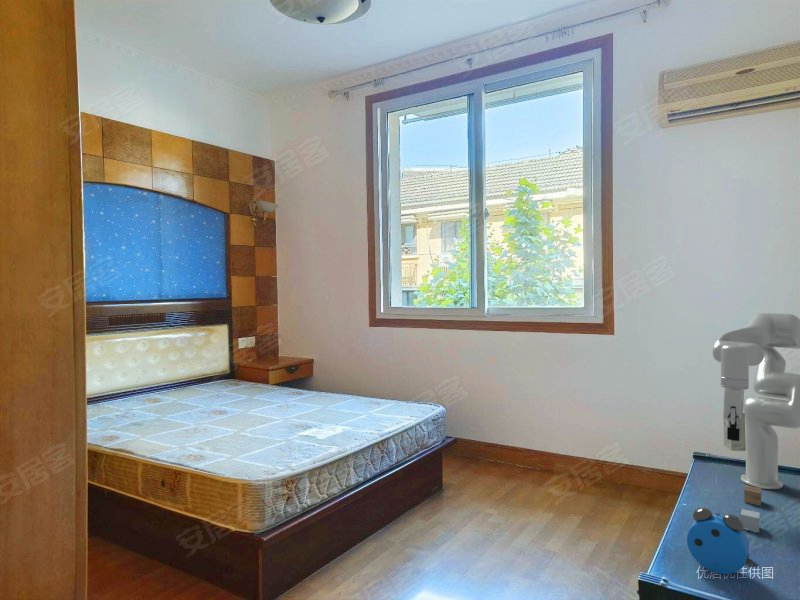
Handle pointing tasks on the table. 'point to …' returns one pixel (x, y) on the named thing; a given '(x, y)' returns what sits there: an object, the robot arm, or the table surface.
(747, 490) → the walnut block
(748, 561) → the strap clip
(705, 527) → the alarm clock
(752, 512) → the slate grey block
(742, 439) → the skincare box
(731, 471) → the table surface
